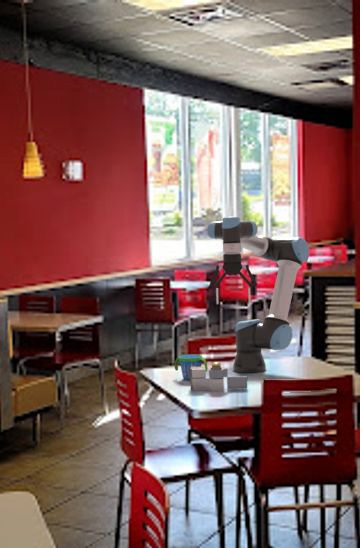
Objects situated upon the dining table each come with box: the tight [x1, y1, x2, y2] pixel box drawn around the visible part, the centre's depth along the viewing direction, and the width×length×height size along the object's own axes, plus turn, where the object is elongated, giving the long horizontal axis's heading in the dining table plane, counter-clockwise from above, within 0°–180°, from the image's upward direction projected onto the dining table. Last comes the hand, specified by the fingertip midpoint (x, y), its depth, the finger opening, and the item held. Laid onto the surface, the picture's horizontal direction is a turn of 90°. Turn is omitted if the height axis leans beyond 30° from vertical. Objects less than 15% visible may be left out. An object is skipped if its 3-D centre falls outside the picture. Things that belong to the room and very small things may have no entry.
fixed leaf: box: [192, 369, 225, 392], centre depth 344 cm, size 6×13×9 cm, turn 86°
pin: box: [211, 361, 222, 379], centre depth 343 cm, size 4×4×11 cm
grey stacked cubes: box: [208, 367, 248, 390], centre depth 343 cm, size 16×6×8 cm, turn 87°
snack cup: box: [174, 353, 209, 381], centre depth 368 cm, size 16×10×10 cm
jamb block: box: [190, 366, 205, 391], centre depth 347 cm, size 5×6×9 cm
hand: (233, 303), depth 351 cm, fingers open, 13 cm apart
